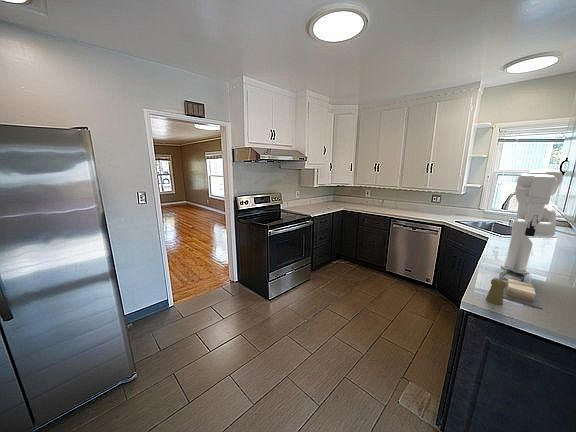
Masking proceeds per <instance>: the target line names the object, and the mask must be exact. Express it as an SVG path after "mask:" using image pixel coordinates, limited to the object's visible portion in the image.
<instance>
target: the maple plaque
mask: <svg viewBox="0 0 576 432" xmlns="http://www.w3.org/2000/svg"><path fill="white" fill-rule="evenodd" d="M507 279H508V280H506V282H507V285H506V288H507V295H510V296H513V297H517V298H520V299H524V300H528V301H531V302H533V301H534V298H535V290H534V289H535V287H534V285H533V284H532V283H528V282H521V281H519V280H516V279H512V278H507Z"/></svg>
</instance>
